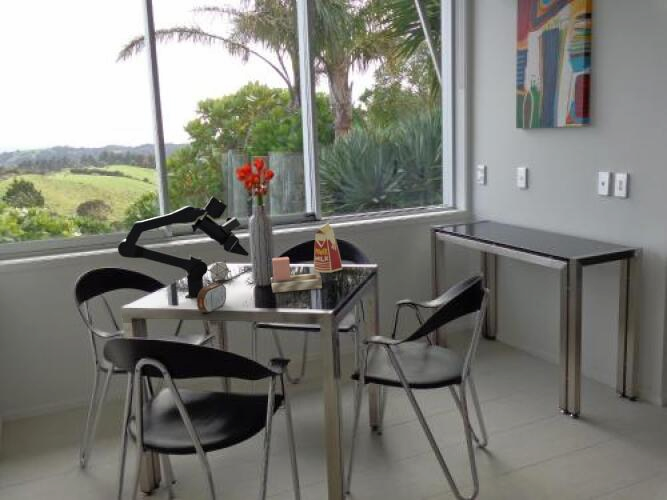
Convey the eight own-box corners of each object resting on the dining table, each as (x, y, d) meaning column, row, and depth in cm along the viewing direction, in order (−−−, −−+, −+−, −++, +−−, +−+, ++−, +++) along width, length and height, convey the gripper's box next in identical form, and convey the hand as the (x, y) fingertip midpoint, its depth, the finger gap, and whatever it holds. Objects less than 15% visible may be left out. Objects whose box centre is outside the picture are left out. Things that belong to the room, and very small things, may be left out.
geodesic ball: (225, 288, 273) (237, 267, 274) (219, 285, 264) (232, 263, 265) (207, 277, 274) (219, 256, 275) (200, 274, 266) (213, 252, 267)
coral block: (275, 287, 246) (272, 260, 245) (274, 284, 251) (272, 258, 250) (291, 285, 247) (289, 259, 245) (290, 282, 252) (288, 256, 250)
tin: (221, 303, 231) (218, 280, 229) (229, 304, 230) (226, 280, 228) (197, 315, 217) (194, 290, 216) (205, 316, 216) (203, 290, 214)
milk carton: (326, 267, 283) (323, 220, 279) (343, 269, 277) (340, 221, 274) (312, 271, 276) (309, 224, 272) (329, 273, 270) (326, 224, 267)
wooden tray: (273, 292, 242) (272, 281, 242) (271, 285, 255) (270, 274, 255) (321, 287, 245) (321, 277, 244) (317, 280, 257) (317, 270, 257)
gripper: (227, 213, 235) (263, 238, 239) (222, 209, 252) (255, 232, 257) (209, 239, 234) (244, 263, 239) (205, 232, 252) (238, 255, 257)
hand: (246, 253), depth 248 cm, fingers open, 9 cm apart
